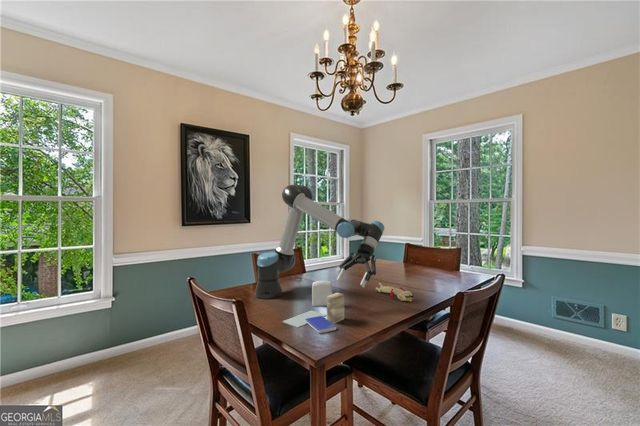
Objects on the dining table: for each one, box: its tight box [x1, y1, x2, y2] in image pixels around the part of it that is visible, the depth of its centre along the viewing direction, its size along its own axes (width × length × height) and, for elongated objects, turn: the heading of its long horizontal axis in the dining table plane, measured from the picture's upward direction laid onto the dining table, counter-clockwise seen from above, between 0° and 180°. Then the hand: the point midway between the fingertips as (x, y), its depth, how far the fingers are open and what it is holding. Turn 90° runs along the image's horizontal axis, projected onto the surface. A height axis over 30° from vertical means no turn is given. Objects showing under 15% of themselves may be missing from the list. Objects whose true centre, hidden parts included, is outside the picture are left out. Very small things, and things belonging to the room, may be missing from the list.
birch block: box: [326, 292, 345, 325], centre depth 132 cm, size 4×7×11 cm, turn 138°
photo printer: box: [311, 280, 333, 307], centre depth 152 cm, size 10×4×12 cm, turn 90°
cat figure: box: [374, 278, 414, 302], centre depth 165 cm, size 10×9×25 cm
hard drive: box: [305, 316, 337, 334], centre depth 125 cm, size 2×8×12 cm
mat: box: [282, 310, 327, 329], centre depth 134 cm, size 10×18×1 cm, turn 138°
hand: (349, 283), depth 139 cm, fingers open, 13 cm apart
